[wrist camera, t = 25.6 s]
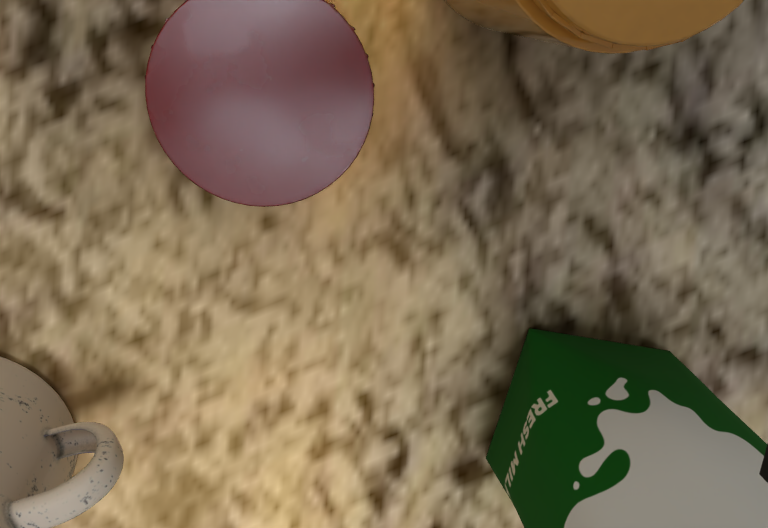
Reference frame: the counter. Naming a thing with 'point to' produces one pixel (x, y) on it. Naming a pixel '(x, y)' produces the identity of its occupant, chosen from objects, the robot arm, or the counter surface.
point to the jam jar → (598, 21)
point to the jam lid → (259, 97)
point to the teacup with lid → (48, 454)
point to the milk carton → (622, 441)
